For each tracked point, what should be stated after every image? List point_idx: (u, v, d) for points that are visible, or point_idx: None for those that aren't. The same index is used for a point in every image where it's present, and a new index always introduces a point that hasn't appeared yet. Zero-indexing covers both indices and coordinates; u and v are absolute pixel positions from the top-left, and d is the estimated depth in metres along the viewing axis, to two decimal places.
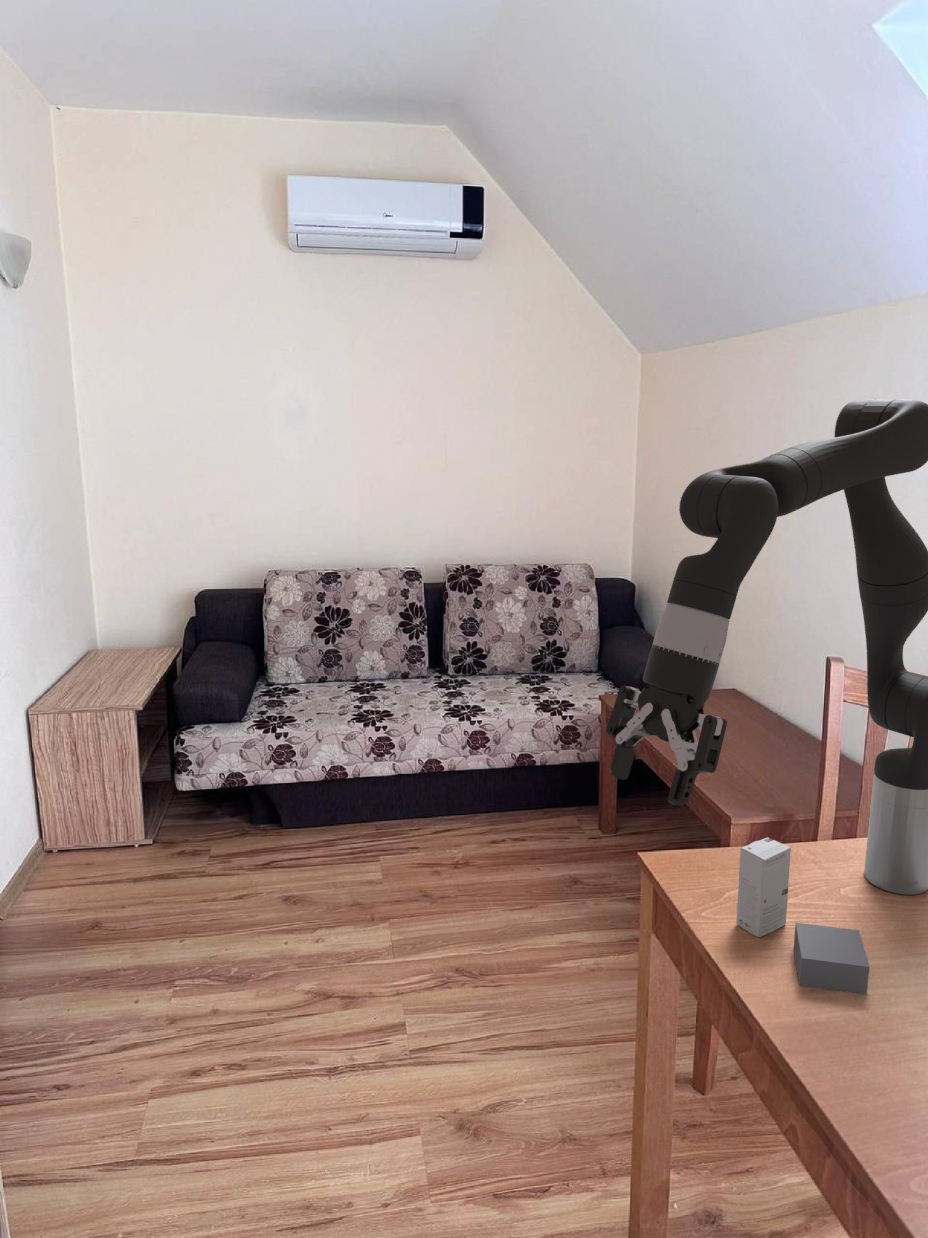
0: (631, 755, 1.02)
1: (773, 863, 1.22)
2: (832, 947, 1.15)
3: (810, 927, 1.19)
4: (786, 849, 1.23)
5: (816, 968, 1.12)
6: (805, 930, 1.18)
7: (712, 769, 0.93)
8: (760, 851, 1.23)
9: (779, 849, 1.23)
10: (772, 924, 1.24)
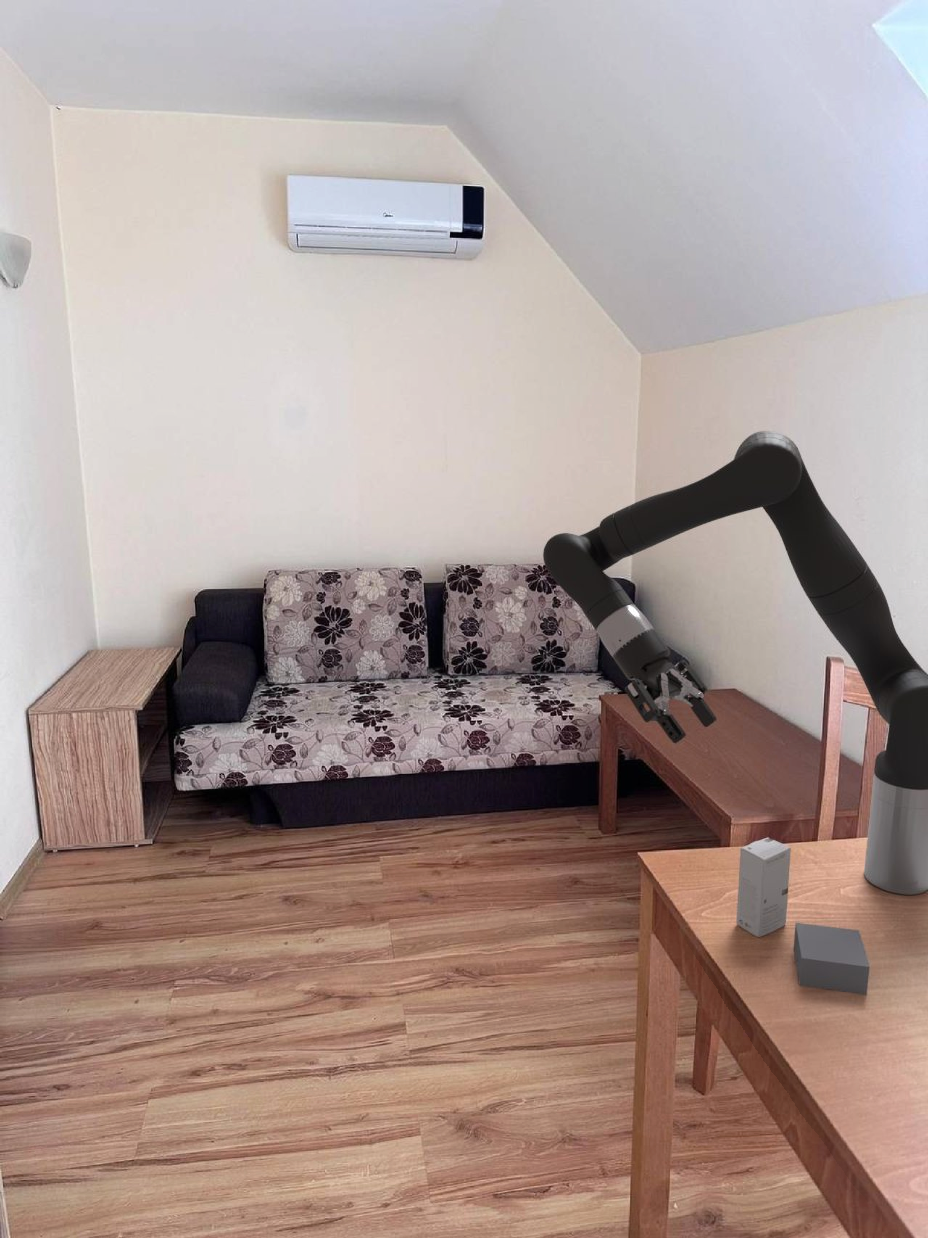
0: (701, 706, 1.31)
1: (773, 863, 1.22)
2: (832, 947, 1.15)
3: (810, 927, 1.19)
4: (786, 849, 1.23)
5: (816, 968, 1.12)
6: (805, 930, 1.18)
7: (653, 713, 1.24)
8: (760, 851, 1.23)
9: (779, 849, 1.23)
10: (772, 924, 1.24)
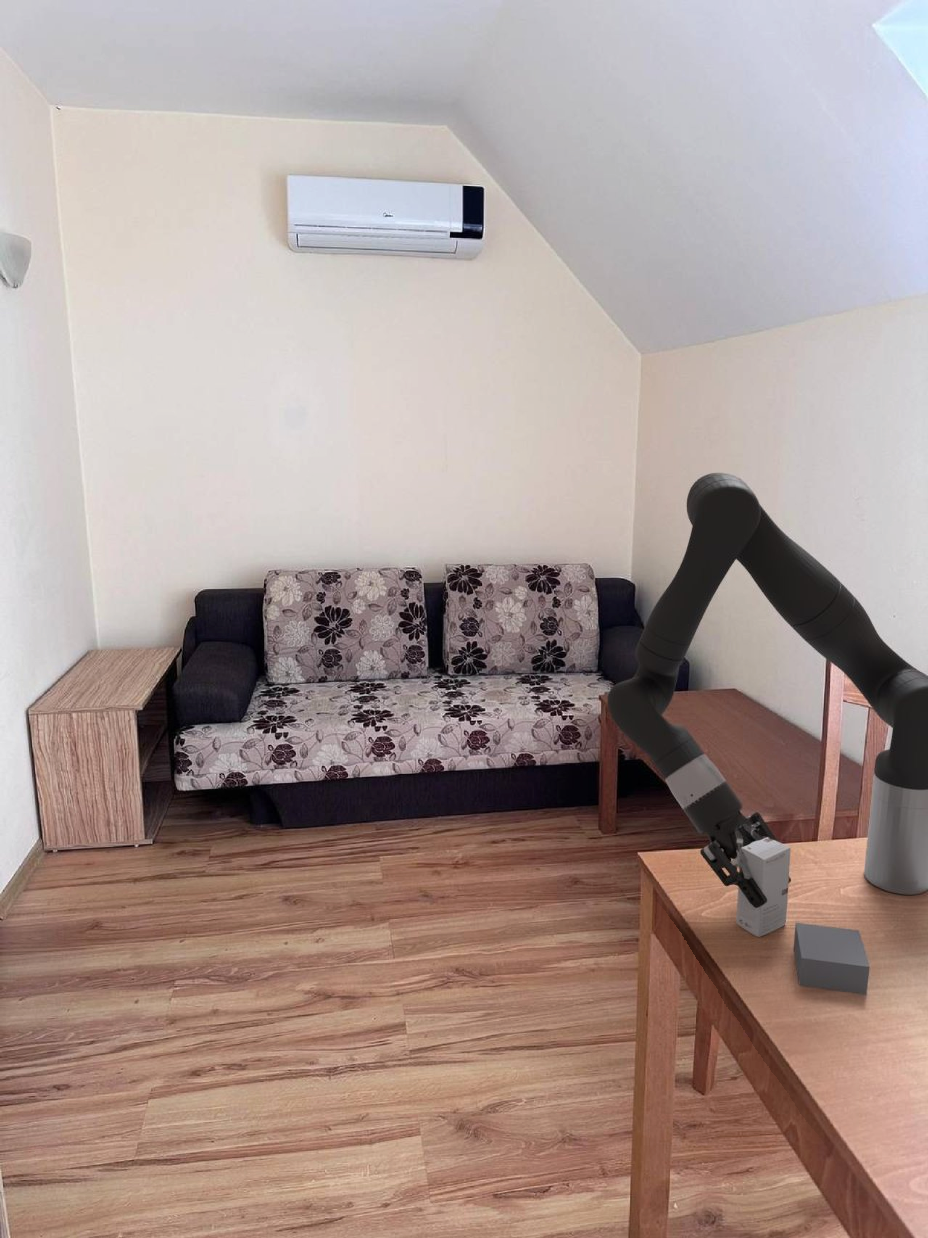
0: None
1: (773, 863, 1.22)
2: (832, 947, 1.15)
3: (810, 927, 1.19)
4: (786, 849, 1.23)
5: (816, 968, 1.12)
6: (805, 930, 1.18)
7: (734, 879, 1.21)
8: (760, 851, 1.23)
9: (779, 849, 1.23)
10: (772, 924, 1.24)
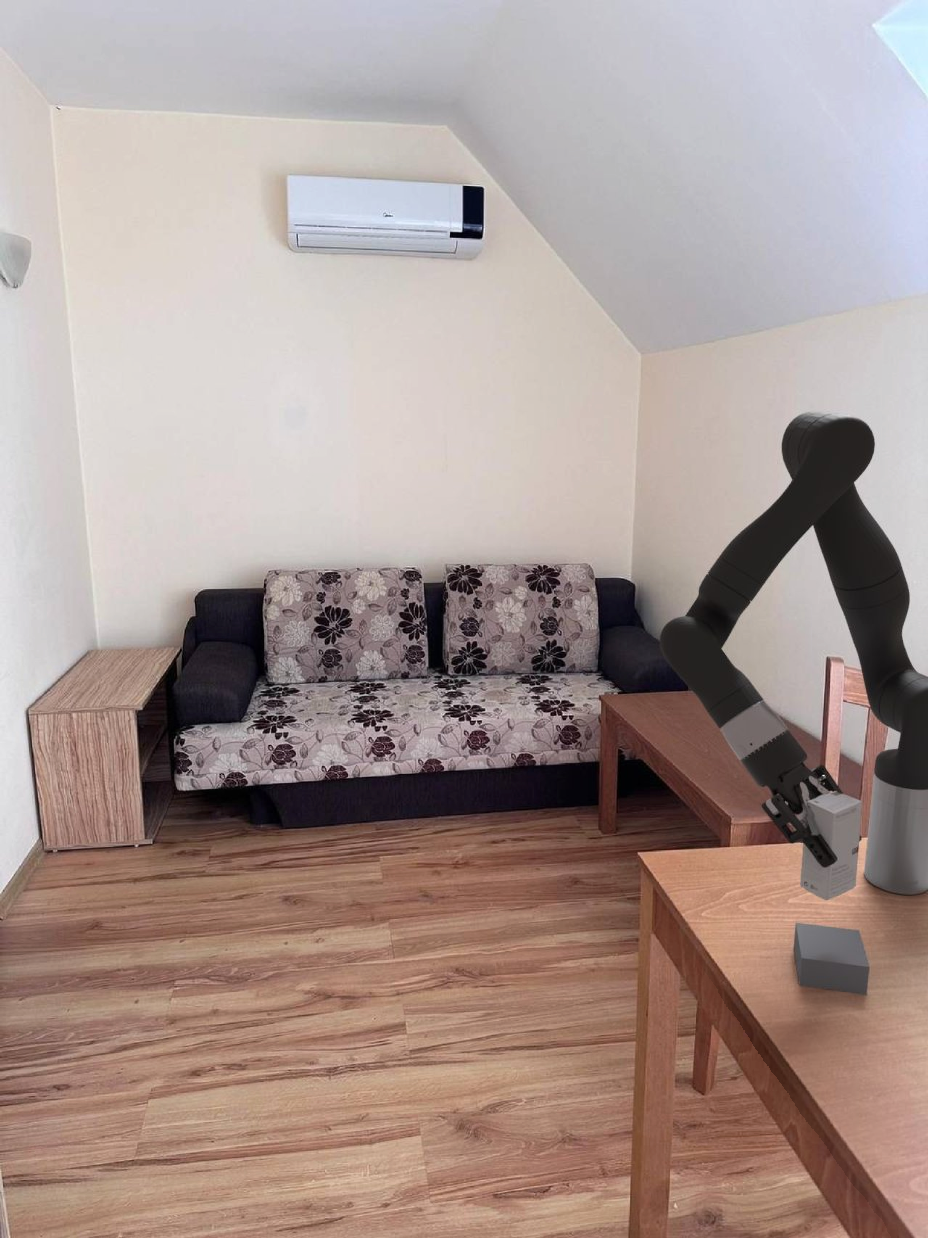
0: None
1: (843, 818, 1.10)
2: (832, 947, 1.15)
3: (810, 927, 1.19)
4: (857, 803, 1.11)
5: (816, 968, 1.12)
6: (805, 930, 1.18)
7: (801, 836, 1.09)
8: (829, 804, 1.11)
9: (849, 803, 1.11)
10: (841, 887, 1.12)
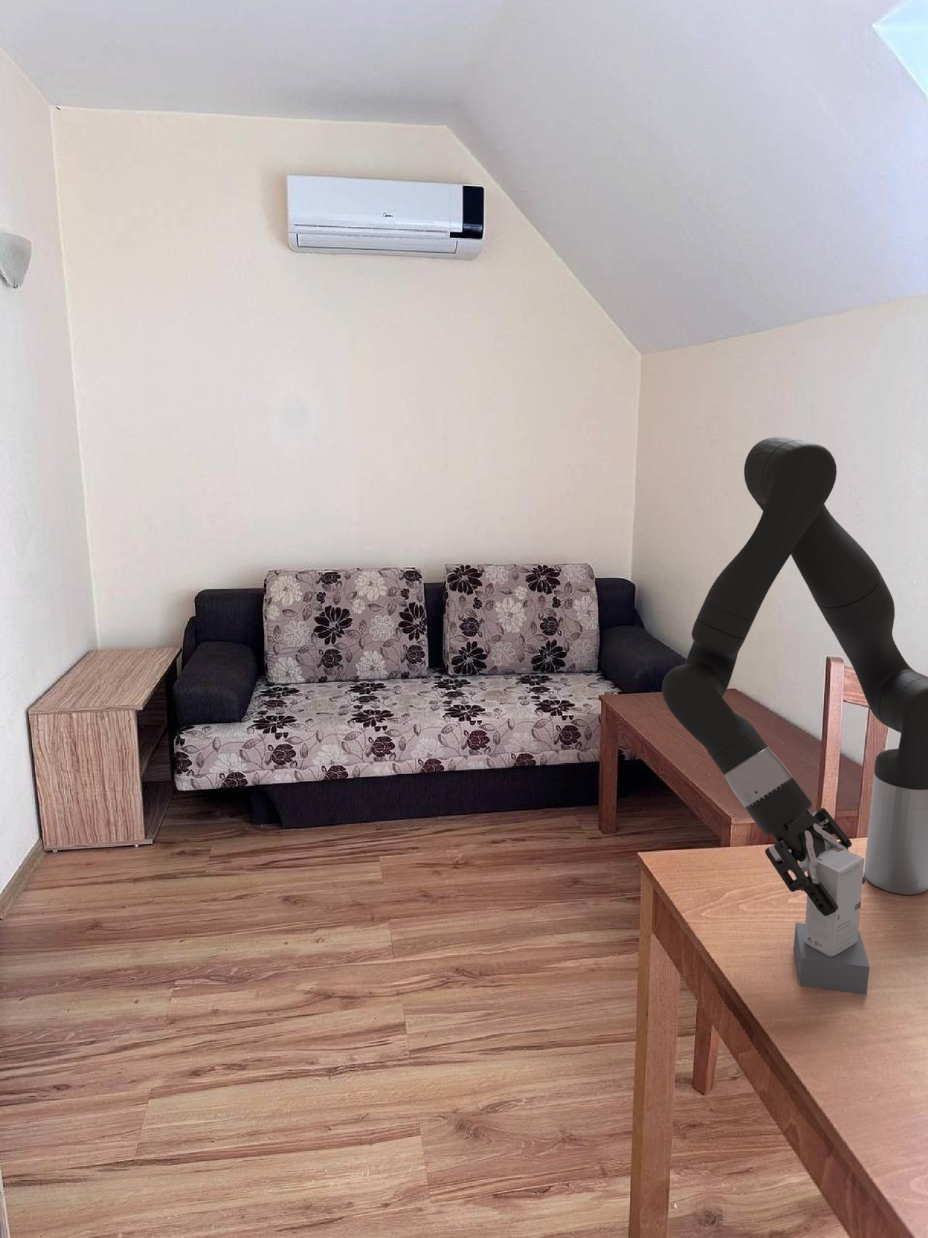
0: None
1: (847, 875, 1.11)
2: None
3: None
4: (860, 860, 1.12)
5: (816, 968, 1.12)
6: None
7: (801, 884, 1.09)
8: (833, 862, 1.12)
9: (852, 860, 1.12)
10: (844, 942, 1.13)
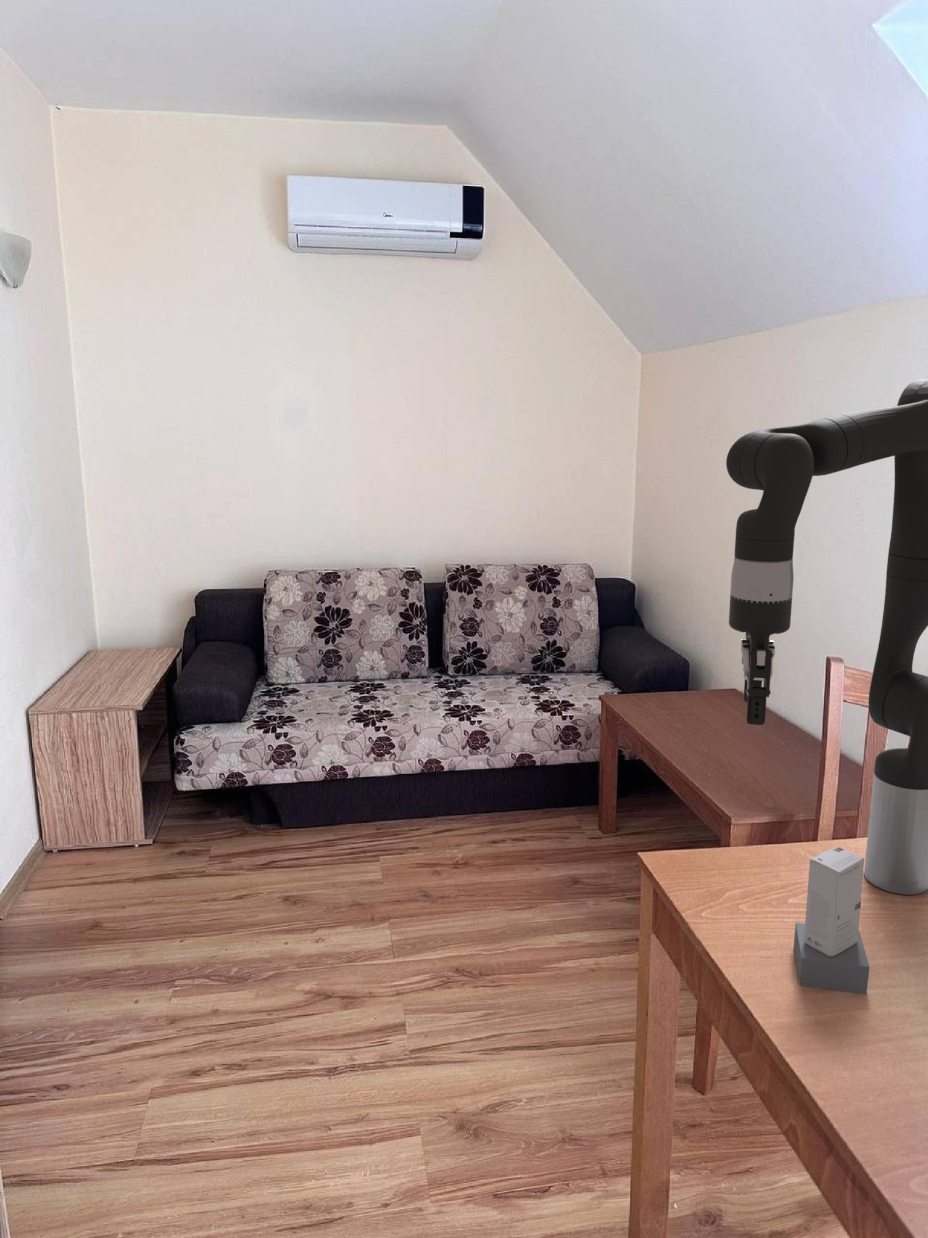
0: (758, 682, 1.19)
1: (847, 875, 1.11)
2: None
3: None
4: (860, 860, 1.12)
5: (816, 968, 1.12)
6: None
7: (765, 694, 1.09)
8: (833, 862, 1.12)
9: (852, 860, 1.12)
10: (844, 942, 1.13)
